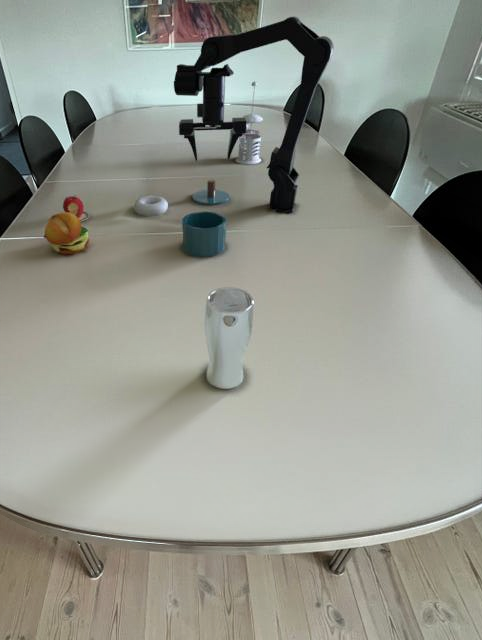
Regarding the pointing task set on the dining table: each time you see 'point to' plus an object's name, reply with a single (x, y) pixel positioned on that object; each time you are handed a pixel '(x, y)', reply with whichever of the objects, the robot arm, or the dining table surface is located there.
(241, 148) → the french press
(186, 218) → the canister
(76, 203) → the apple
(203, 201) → the lid
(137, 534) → the dining table surface
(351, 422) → the dining table surface
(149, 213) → the donut
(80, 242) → the cheeseburger
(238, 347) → the beer glass
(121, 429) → the dining table surface
